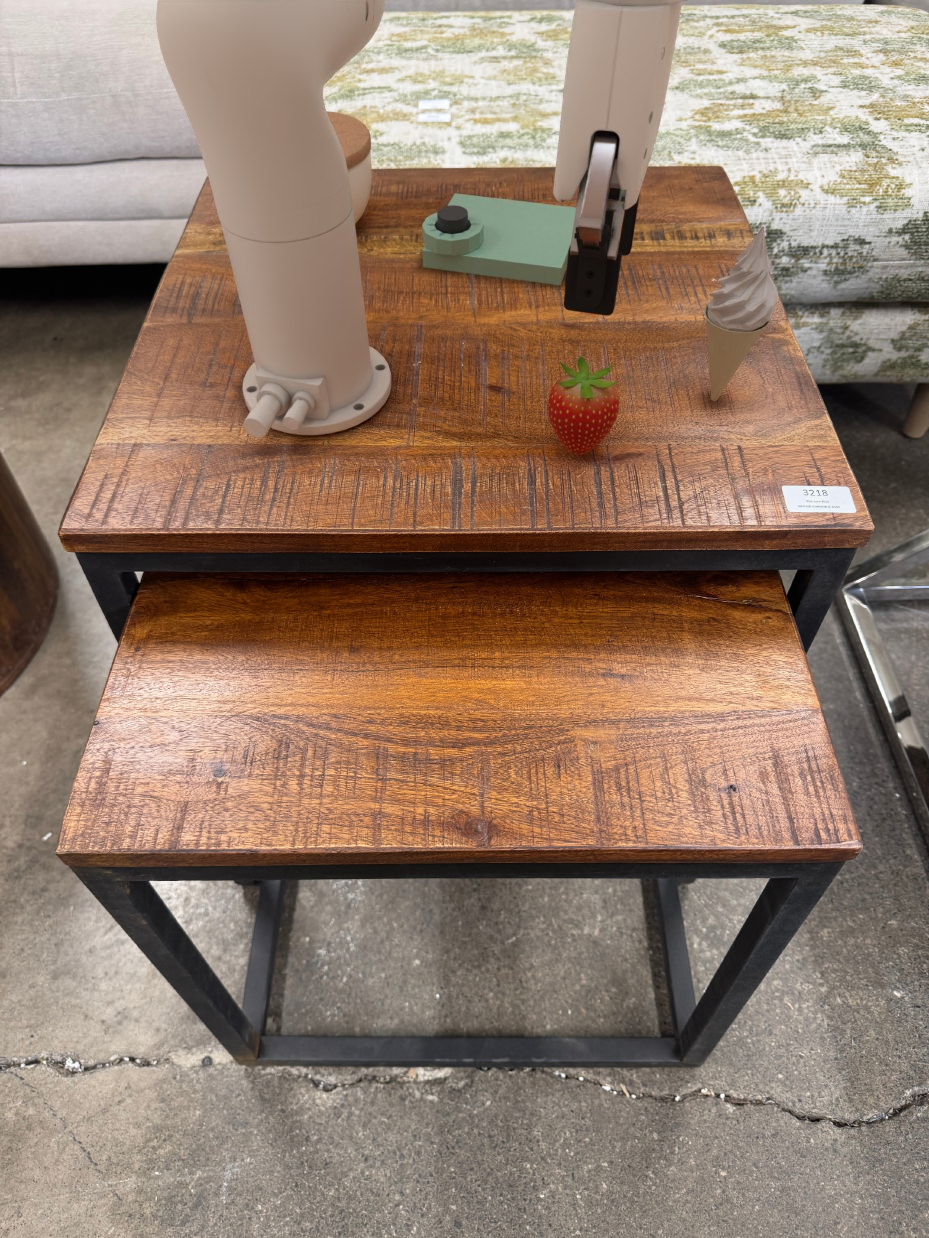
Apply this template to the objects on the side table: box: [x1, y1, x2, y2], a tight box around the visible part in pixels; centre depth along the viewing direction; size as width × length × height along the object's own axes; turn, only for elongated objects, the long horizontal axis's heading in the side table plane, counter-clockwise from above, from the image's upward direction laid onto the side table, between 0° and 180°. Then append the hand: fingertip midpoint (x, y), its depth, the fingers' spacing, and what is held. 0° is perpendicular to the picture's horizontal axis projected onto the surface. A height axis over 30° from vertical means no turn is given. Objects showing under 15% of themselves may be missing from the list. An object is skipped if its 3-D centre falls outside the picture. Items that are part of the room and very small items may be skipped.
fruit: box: [547, 356, 620, 456], centre depth 65 cm, size 5×5×8 cm
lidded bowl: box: [326, 110, 373, 225], centre depth 85 cm, size 13×13×11 cm
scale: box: [421, 193, 576, 286], centre depth 86 cm, size 12×14×4 cm
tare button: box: [436, 205, 468, 234], centre depth 83 cm, size 3×3×2 cm
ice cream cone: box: [703, 225, 779, 402], centre depth 65 cm, size 5×5×15 cm
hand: (598, 277), depth 56 cm, fingers open, 6 cm apart
